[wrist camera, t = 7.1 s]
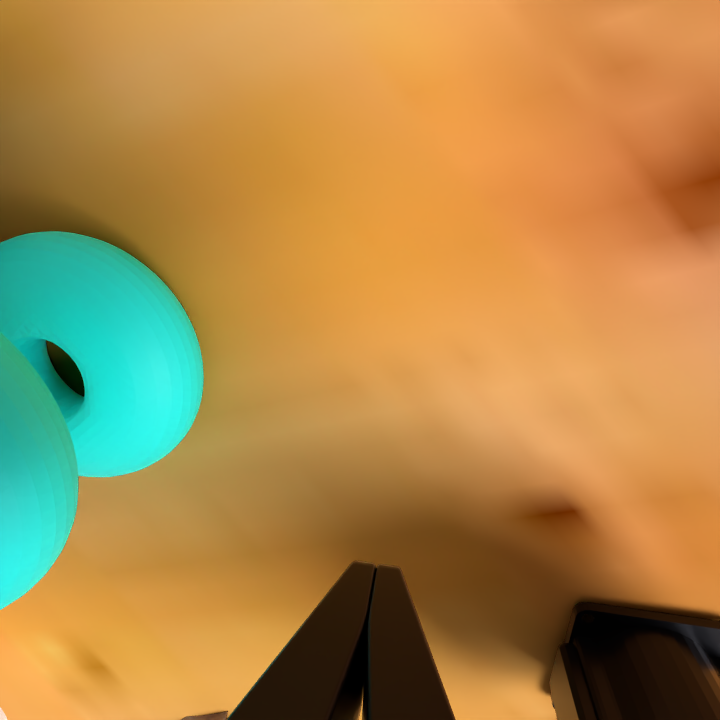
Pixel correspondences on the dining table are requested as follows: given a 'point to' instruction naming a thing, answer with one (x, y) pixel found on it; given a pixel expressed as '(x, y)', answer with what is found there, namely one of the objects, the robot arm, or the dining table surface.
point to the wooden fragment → (208, 717)
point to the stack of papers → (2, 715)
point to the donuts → (101, 382)
